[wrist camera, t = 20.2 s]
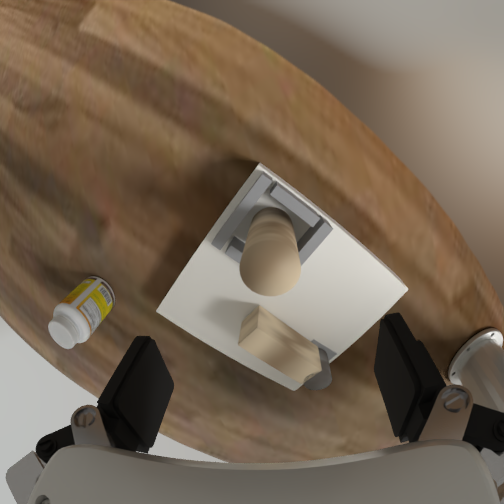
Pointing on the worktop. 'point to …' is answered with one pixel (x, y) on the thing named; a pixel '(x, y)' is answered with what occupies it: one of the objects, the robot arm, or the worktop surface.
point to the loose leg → (270, 254)
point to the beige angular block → (284, 349)
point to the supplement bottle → (81, 312)
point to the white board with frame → (295, 300)
